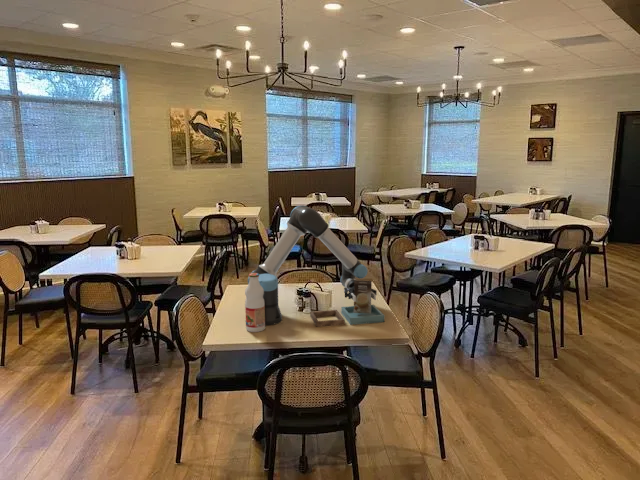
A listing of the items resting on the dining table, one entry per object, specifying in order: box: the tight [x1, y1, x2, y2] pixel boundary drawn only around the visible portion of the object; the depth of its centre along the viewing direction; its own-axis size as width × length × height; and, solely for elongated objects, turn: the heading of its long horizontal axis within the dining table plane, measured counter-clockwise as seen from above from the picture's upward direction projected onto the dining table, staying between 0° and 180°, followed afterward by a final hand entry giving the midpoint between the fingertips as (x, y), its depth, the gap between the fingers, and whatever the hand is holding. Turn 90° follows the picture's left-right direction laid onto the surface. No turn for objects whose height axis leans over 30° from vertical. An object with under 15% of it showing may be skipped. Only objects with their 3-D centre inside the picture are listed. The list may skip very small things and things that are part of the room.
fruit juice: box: [244, 272, 266, 333], centre depth 243 cm, size 9×9×28 cm
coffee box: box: [353, 279, 373, 314], centre depth 259 cm, size 9×6×16 cm
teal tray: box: [340, 304, 386, 326], centre depth 261 cm, size 18×18×4 cm
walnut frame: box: [309, 309, 346, 328], centre depth 257 cm, size 14×16×2 cm
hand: (365, 298), depth 255 cm, fingers closed on coffee box, 10 cm apart
